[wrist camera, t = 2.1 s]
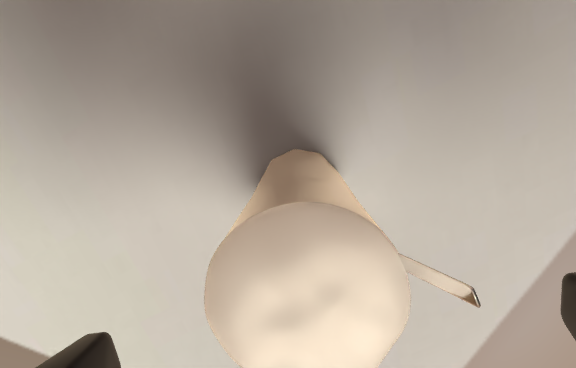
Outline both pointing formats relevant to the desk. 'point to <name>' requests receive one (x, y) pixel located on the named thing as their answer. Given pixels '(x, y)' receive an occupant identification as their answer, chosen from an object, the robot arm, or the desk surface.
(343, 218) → the milkshake
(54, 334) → the desk surface
